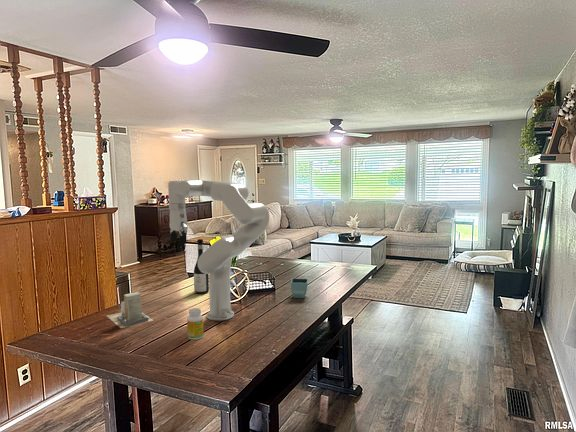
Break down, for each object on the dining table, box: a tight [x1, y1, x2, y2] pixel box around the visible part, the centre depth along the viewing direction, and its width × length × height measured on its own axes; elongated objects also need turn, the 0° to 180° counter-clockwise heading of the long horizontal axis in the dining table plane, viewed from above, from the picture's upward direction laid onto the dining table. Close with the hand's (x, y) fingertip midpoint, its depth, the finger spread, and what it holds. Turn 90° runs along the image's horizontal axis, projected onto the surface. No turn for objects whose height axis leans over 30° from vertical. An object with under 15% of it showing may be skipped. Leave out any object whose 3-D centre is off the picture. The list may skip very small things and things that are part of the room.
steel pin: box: [120, 300, 125, 316], centre depth 184 cm, size 3×3×6 cm
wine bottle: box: [193, 238, 210, 295], centre depth 222 cm, size 8×8×30 cm
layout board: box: [106, 311, 153, 329], centre depth 180 cm, size 20×14×3 cm
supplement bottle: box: [186, 307, 205, 341], centre depth 161 cm, size 6×6×11 cm
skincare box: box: [123, 291, 143, 322], centre depth 175 cm, size 6×4×12 cm
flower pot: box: [290, 278, 309, 299], centre depth 213 cm, size 9×9×9 cm
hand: (178, 242), depth 190 cm, fingers open, 9 cm apart
